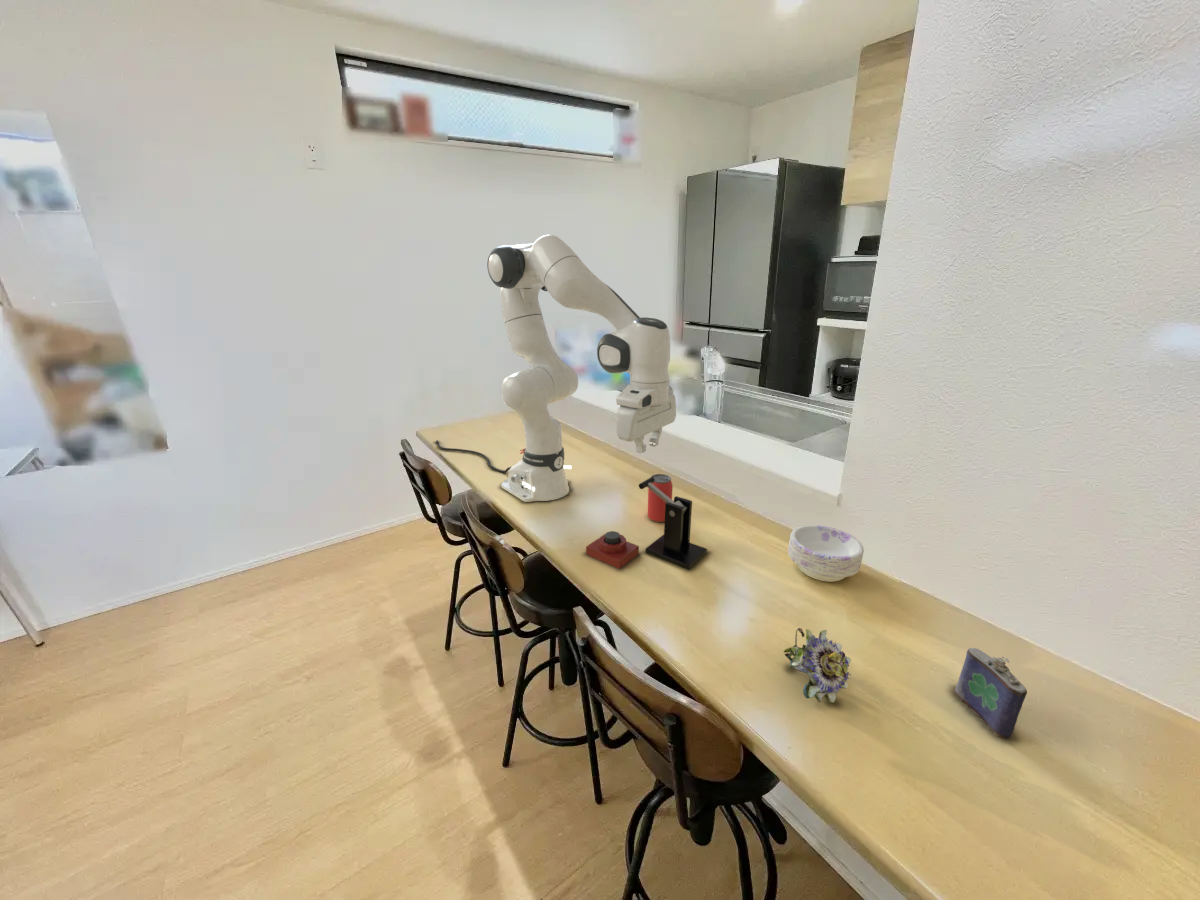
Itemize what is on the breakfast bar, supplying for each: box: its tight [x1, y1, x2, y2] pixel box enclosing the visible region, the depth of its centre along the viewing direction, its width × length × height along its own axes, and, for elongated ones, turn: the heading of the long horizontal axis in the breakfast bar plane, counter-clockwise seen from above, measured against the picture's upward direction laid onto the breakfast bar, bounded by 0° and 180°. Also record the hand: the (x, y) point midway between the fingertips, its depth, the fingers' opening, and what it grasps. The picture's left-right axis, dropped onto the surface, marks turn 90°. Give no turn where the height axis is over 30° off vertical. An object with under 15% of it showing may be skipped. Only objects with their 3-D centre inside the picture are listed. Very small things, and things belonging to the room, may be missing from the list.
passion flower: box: [783, 627, 852, 704], centre depth 82 cm, size 11×11×12 cm
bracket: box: [645, 496, 708, 570], centre depth 118 cm, size 12×9×14 cm
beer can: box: [647, 473, 674, 523], centre depth 135 cm, size 7×7×12 cm
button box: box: [585, 533, 640, 569], centre depth 119 cm, size 10×8×4 cm
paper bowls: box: [787, 524, 865, 583], centre depth 112 cm, size 15×15×8 cm
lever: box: [638, 476, 687, 514], centre depth 118 cm, size 12×5×2 cm, turn 51°
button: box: [604, 530, 621, 545], centre depth 119 cm, size 4×4×2 cm
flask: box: [954, 647, 1028, 740], centre depth 75 cm, size 9×3×11 cm, turn 8°
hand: (647, 448), depth 117 cm, fingers open, 4 cm apart
